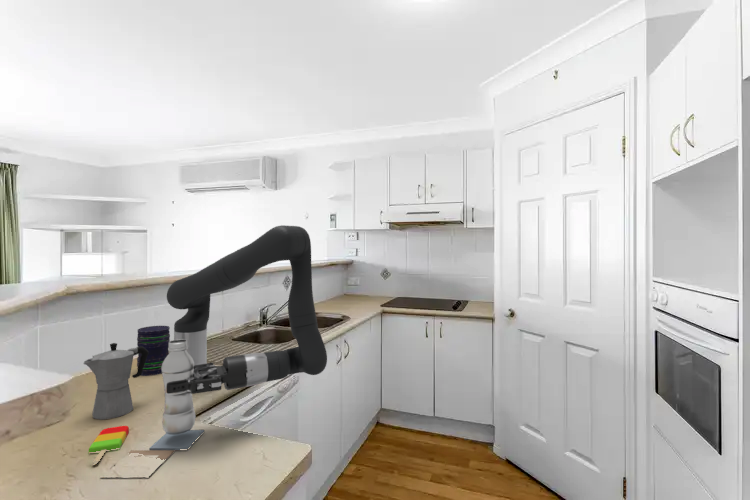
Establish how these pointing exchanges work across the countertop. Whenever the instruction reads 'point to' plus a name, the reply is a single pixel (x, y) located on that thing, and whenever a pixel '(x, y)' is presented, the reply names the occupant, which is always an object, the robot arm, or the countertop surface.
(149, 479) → the countertop surface
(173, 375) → the plastic bottle
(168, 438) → the slate pad
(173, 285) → the robot arm
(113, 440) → the popsicle
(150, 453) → the tile
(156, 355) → the storage jar
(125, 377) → the coffeepot
